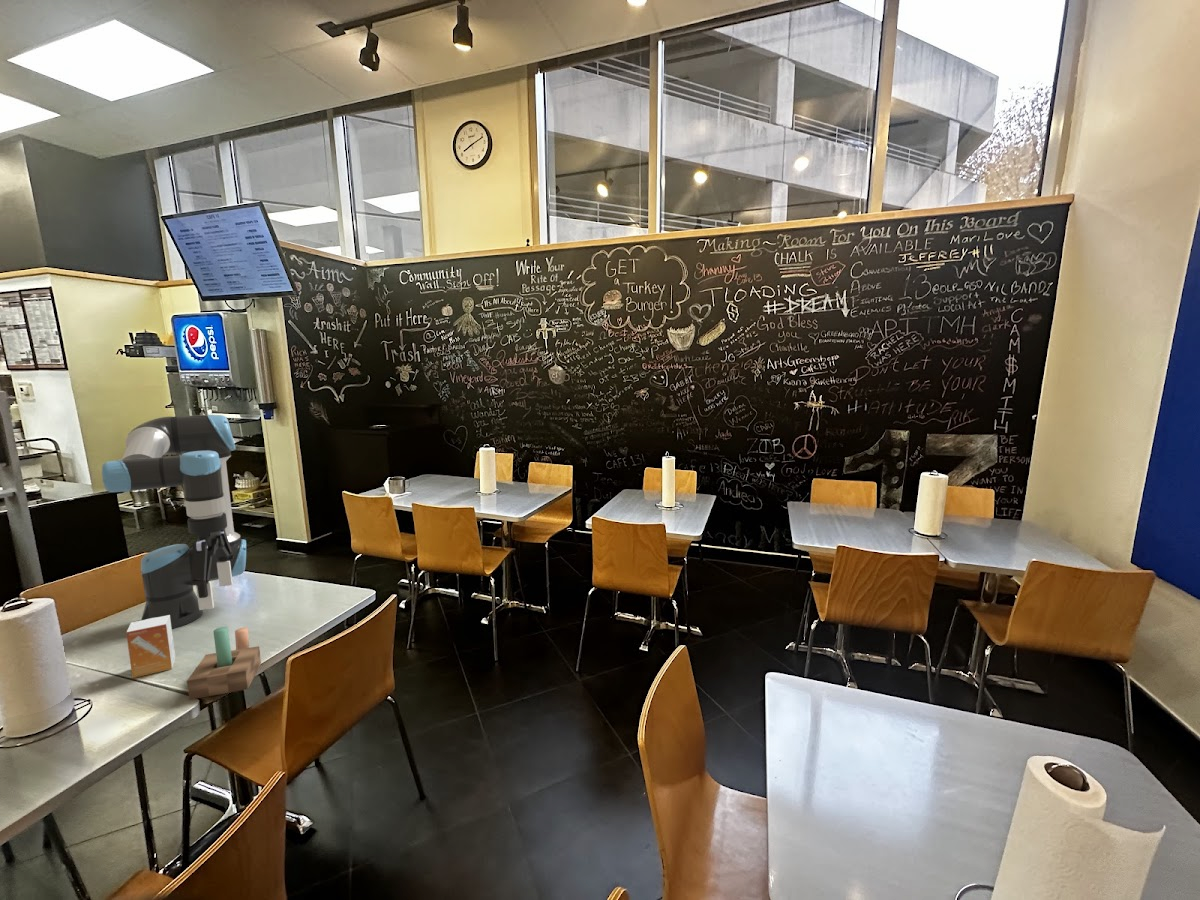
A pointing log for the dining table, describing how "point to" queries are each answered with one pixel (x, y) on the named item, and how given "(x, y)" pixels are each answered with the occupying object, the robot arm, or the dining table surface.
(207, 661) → the collar block
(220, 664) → the long dowel
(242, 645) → the short dowel
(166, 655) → the small box
